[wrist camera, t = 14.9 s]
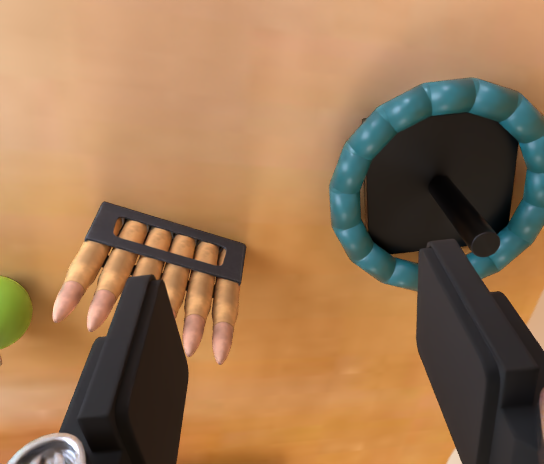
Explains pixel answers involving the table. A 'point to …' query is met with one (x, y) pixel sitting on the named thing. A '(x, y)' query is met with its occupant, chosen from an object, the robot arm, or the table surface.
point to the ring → (407, 112)
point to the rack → (442, 185)
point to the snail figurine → (13, 312)
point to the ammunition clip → (158, 272)
